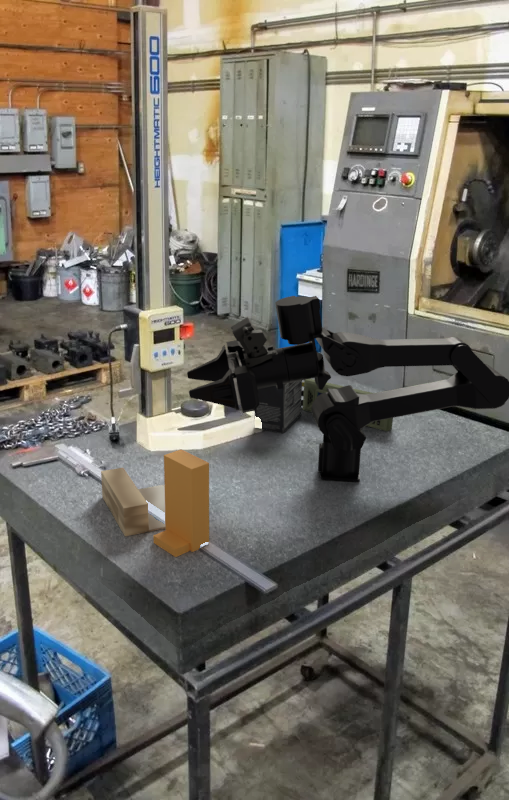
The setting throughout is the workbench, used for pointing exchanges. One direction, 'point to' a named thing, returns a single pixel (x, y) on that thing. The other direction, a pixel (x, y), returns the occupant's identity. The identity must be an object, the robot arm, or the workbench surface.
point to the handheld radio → (313, 391)
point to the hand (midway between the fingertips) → (188, 384)
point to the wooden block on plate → (131, 502)
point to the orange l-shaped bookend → (185, 503)
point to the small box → (279, 406)
